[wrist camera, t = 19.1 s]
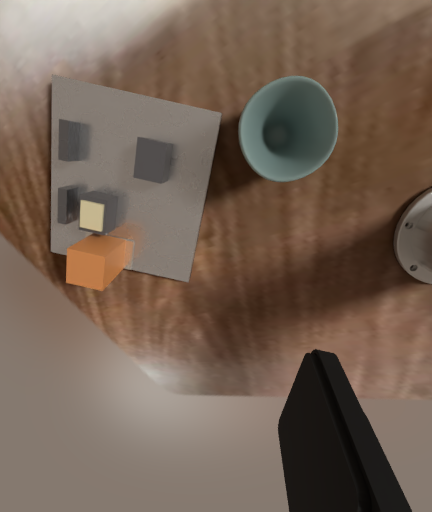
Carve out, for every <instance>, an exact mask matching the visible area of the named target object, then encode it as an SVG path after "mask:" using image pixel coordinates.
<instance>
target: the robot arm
mask: <svg viewBox="0 0 432 512" xmlns="http://www.w3.org/2000/svg"><path fill="white" fill-rule="evenodd" d="M406 223H407V224H406ZM405 224H406V225H405ZM393 244H394V252H395V255H396V258H397V261H398V262H399V264H400V265H401V267H402V268H403V269H404V270H405V271H406V272H407V273H409V274H410V275H411V276H413V277H414V278H416V279H418V280H420V281H422V282H425V283H429V284H432V188H430V189H428V190H427V191H425V192H424V193H423V194H421V195H420V196H418V197H417V198H416V199H415V200H414V201H413V202H412V203H411V204H410V205H409V206H408V207H407V209H406V210H405V211H404V213H403V214H402V216H401V218H400V220H399V222H398V224H397V227H396V230H395V233H394V243H393ZM278 434H279V441H280V449H281V456H282V463H283V470H284V477H285V484H286V491H287V498H288V505H289V512H412V510H411V508H410V506H409V504H408V502H407V500H406V498H405V496H404V493H403V491H402V489H401V487H400V485H399V483H398V481H397V479H396V477H395V475H394V473H393V470H392V468H391V466H390V464H389V462H388V460H387V458H386V456H385V454H384V452H383V449H382V447H381V446H380V443H379V441H378V439H377V437H376V435H375V433H374V431H373V429H372V427H371V424H370V422H369V420H368V418H367V416H366V415H365V413H364V412H363V410H362V408H361V406H360V404H359V402H358V400H357V397H356V395H355V393H354V391H353V389H352V387H351V385H350V383H349V381H348V378H347V376H346V374H345V372H344V370H343V368H342V366H341V364H340V362H339V359H338V357H337V356H336V354H334V353H330V352H325V351H321V350H316V349H315V350H313V351H312V352H311V353H306V354H305V356H304V358H303V361H302V363H301V366H300V368H299V371H298V373H297V376H296V378H295V381H294V383H293V386H292V388H291V391H290V393H289V396H288V399H287V401H286V404H285V406H284V409H283V411H282V414H281V416H280V419H279V424H278Z"/></svg>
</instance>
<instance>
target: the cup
mask: <svg viewBox="0 0 432 512" xmlns="http://www.w3.org/2000/svg"><path fill="white" fill-rule="evenodd" d="M337 134H338V119H337V114H336V109H335V106H334V104H333V101H332V99H331V97H330V96H329V94H328V93H327V91H326V90H325V89H324V88H323V87H322V86H321V85H320V84H319V83H318V82H316V81H314V80H313V79H311V78H307V77H303V76H288V77H283V78H279V79H277V80H274V81H272V82H270V83H268V84H267V85H265V86H263V87H262V88H260V89H259V90H258V91H257V92H256V93H255V94H254V95H253V96H252V97H251V98H250V99H249V101H248V102H247V103H246V105H245V107H244V109H243V111H242V113H241V116H240V120H239V124H238V140H239V146H240V149H241V152H242V154H243V156H244V158H245V160H246V162H247V163H248V165H249V166H250V167H251V169H252V170H253V171H254V172H256V173H257V174H258V175H259V176H261V177H263V178H264V179H266V180H270V181H273V182H289V181H295V180H298V179H300V178H303V177H305V176H307V175H309V174H311V173H313V172H314V171H315V170H317V169H318V168H319V167H321V165H322V164H323V163H324V162H325V161H326V160H327V159H328V158H329V156H330V154H331V153H332V151H333V149H334V146H335V144H336V141H337Z"/></svg>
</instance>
